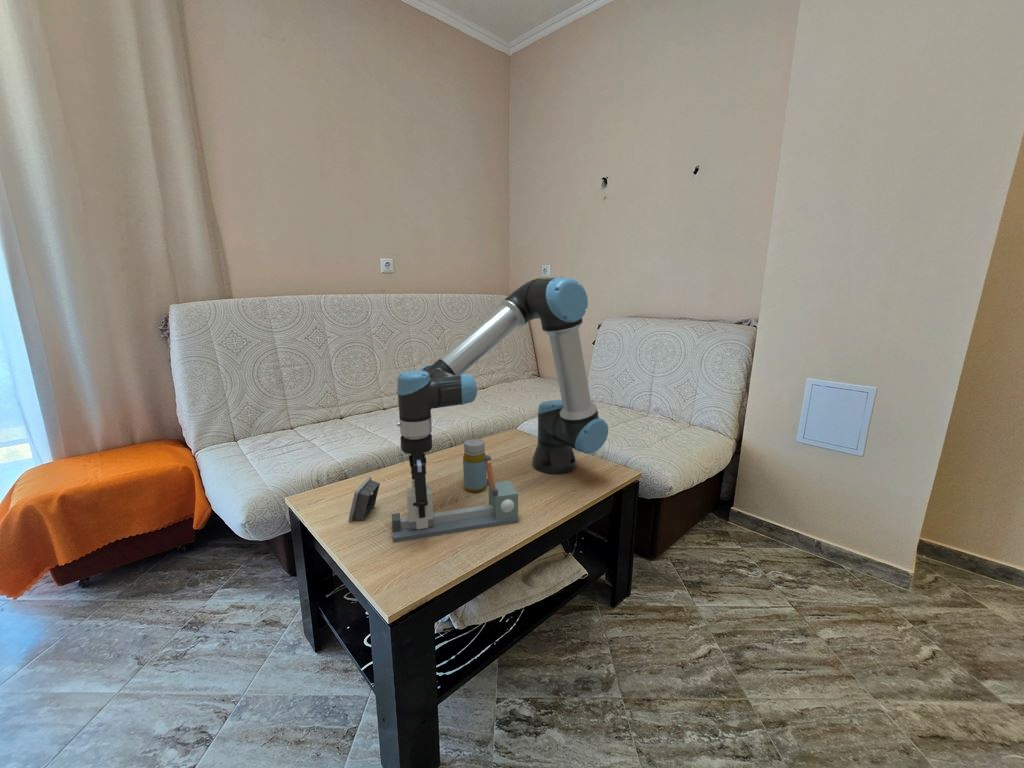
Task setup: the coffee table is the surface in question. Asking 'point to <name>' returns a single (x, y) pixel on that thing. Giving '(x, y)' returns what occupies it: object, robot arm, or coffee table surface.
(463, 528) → the rail bench
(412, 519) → the carriage
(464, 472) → the bottle
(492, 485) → the lever
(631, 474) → the coffee table surface
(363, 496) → the electrical switch
